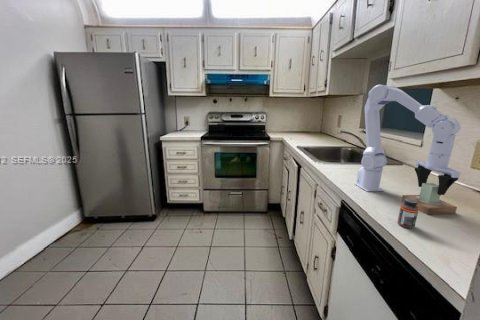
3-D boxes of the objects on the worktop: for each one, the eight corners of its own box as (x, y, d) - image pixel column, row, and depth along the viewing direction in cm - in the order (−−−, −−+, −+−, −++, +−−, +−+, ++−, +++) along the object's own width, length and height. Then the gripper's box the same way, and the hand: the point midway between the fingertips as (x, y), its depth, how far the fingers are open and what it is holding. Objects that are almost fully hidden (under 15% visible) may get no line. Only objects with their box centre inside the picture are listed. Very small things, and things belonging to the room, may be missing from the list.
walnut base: (401, 201, 89) (402, 194, 88) (426, 200, 90) (428, 194, 89) (427, 214, 78) (428, 207, 78) (455, 213, 79) (457, 206, 79)
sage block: (418, 198, 85) (422, 183, 84) (428, 197, 86) (432, 182, 84) (428, 202, 81) (432, 187, 80) (438, 202, 82) (442, 186, 80)
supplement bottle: (397, 220, 74) (403, 196, 72) (414, 225, 71) (420, 200, 69) (396, 225, 71) (401, 200, 68) (414, 230, 68) (420, 204, 66)
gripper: (411, 149, 86) (404, 183, 89) (450, 159, 72) (440, 198, 75) (428, 149, 87) (420, 183, 90) (470, 158, 73) (458, 198, 76)
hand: (430, 190), depth 83 cm, fingers open, 7 cm apart
